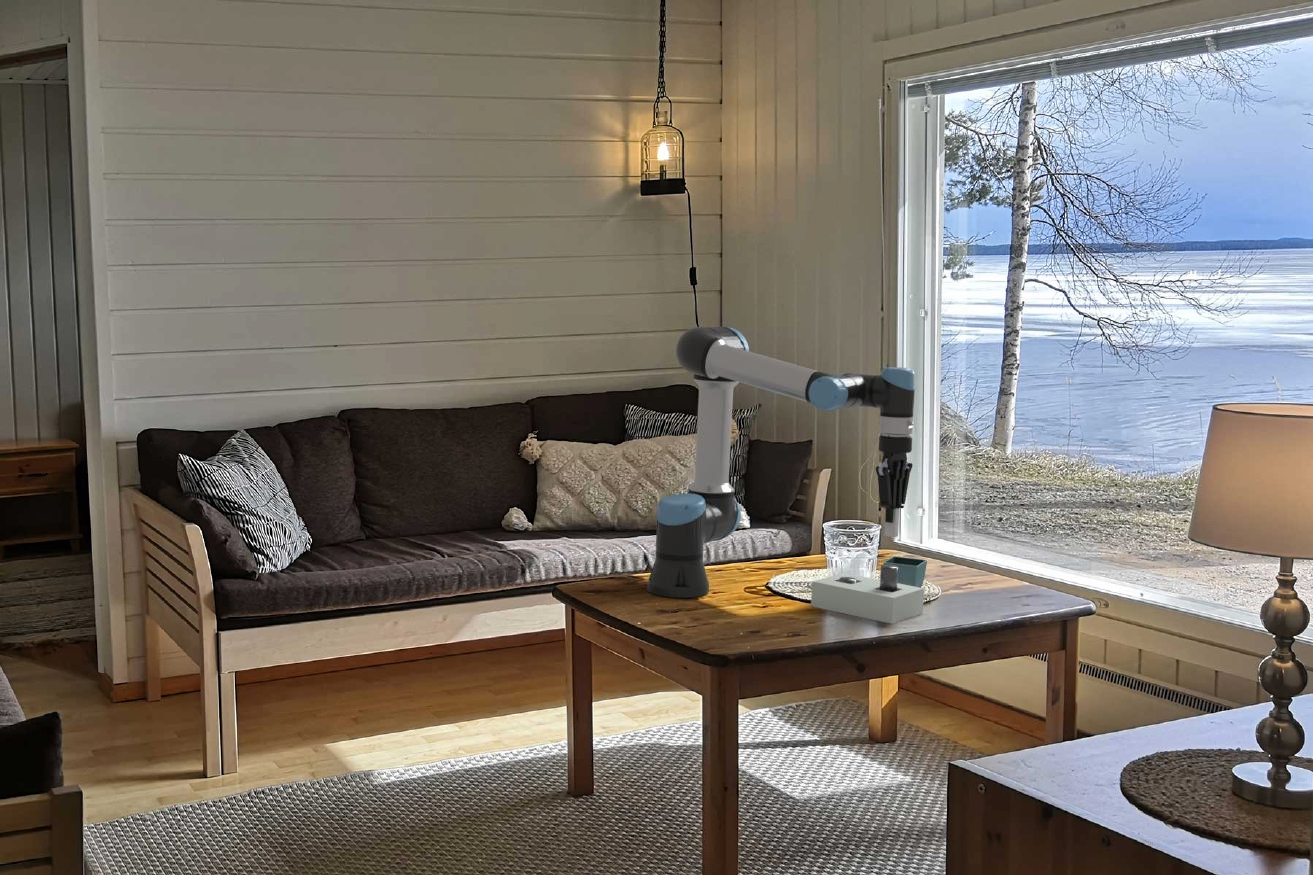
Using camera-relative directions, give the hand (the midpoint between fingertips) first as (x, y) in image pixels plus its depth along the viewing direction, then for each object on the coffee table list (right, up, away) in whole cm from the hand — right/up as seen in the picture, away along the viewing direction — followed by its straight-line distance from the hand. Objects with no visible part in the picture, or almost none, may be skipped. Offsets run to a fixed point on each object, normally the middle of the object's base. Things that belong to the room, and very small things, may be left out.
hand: (891, 535), depth 301 cm
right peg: (0, -13, +1) cm, 14 cm away
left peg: (-9, -17, +9) cm, 21 cm away
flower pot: (+7, -17, +21) cm, 27 cm away
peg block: (-5, -18, +6) cm, 19 cm away
